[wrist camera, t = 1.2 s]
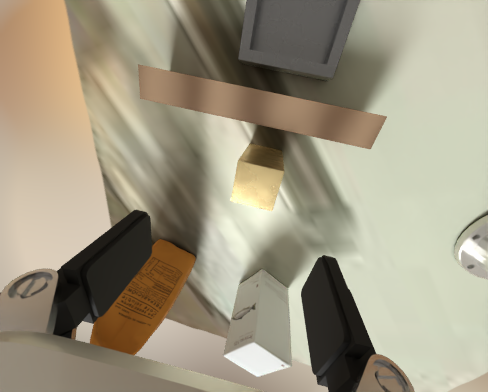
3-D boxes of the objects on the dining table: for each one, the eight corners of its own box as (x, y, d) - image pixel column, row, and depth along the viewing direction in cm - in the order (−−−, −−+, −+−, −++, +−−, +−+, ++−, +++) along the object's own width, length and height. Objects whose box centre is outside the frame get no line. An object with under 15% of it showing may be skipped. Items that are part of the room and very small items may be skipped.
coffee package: (138, 263, 41) (12, 407, 21) (161, 229, 35) (19, 382, 16) (176, 286, 42) (91, 441, 23) (203, 258, 37) (122, 429, 18)
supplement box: (262, 267, 36) (255, 341, 24) (289, 288, 37) (294, 368, 26) (237, 283, 39) (221, 356, 28) (263, 302, 40) (257, 379, 29)
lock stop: (282, 150, 25) (284, 171, 18) (273, 180, 28) (272, 211, 20) (250, 143, 26) (238, 160, 18) (244, 173, 28) (230, 201, 20)
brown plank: (360, 113, 22) (387, 116, 17) (349, 139, 24) (370, 149, 18) (169, 73, 23) (138, 64, 18) (169, 99, 25) (140, 98, 20)
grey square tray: (370, -48, 17) (385, -72, 14) (327, 80, 21) (332, 78, 19) (261, -66, 17) (259, -91, 15) (242, 63, 22) (238, 59, 20)
